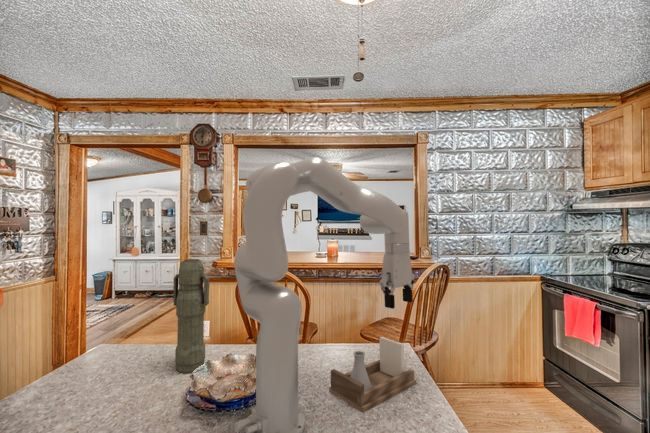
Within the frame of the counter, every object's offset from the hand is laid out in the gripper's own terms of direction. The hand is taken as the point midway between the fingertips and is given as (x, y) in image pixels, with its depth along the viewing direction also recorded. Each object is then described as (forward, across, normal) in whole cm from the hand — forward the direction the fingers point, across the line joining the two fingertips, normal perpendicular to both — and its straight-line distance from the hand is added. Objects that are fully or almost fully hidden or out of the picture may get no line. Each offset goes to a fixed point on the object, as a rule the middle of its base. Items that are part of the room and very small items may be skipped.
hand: (399, 304), depth 96 cm
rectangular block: (+20, +4, 0) cm, 20 cm away
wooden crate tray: (+21, +12, -1) cm, 24 cm away
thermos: (+20, +45, -50) cm, 71 cm away
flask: (+20, +18, -1) cm, 27 cm away
